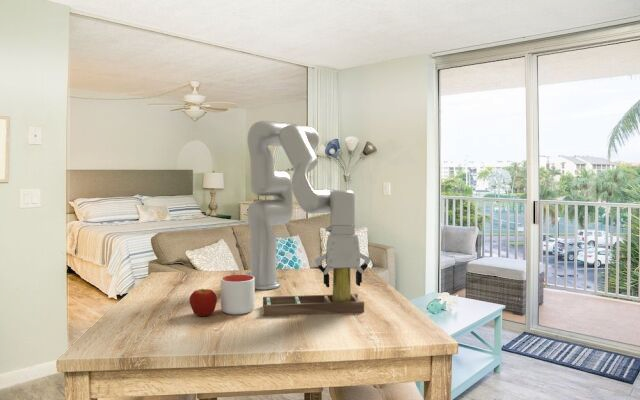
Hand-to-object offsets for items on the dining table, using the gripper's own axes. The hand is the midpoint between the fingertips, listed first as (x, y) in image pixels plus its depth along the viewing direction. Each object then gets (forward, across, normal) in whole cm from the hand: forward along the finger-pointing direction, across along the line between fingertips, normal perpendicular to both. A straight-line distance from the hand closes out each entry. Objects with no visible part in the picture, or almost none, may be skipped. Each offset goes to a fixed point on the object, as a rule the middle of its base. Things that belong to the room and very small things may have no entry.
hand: (342, 285), depth 144 cm
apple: (+7, -42, -1) cm, 42 cm away
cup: (+7, -32, +2) cm, 33 cm away
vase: (+7, 0, 0) cm, 7 cm away
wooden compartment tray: (+7, -9, 0) cm, 12 cm away
